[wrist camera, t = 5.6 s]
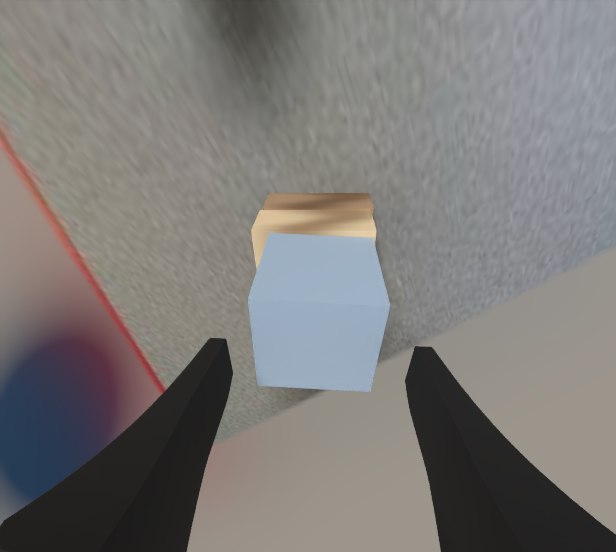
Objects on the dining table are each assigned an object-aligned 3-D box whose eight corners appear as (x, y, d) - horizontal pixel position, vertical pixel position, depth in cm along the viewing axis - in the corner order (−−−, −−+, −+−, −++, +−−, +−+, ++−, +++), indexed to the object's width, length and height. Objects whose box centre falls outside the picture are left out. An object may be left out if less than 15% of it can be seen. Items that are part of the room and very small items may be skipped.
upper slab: (370, 209, 17) (376, 230, 15) (362, 296, 20) (366, 323, 18) (259, 210, 17) (251, 231, 15) (270, 295, 21) (264, 322, 19)
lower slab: (368, 191, 19) (373, 207, 17) (360, 273, 22) (364, 295, 20) (269, 191, 19) (262, 207, 17) (277, 272, 23) (272, 294, 21)
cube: (372, 237, 15) (390, 306, 11) (360, 315, 18) (370, 392, 14) (268, 232, 15) (248, 298, 11) (273, 310, 18) (257, 385, 14)
